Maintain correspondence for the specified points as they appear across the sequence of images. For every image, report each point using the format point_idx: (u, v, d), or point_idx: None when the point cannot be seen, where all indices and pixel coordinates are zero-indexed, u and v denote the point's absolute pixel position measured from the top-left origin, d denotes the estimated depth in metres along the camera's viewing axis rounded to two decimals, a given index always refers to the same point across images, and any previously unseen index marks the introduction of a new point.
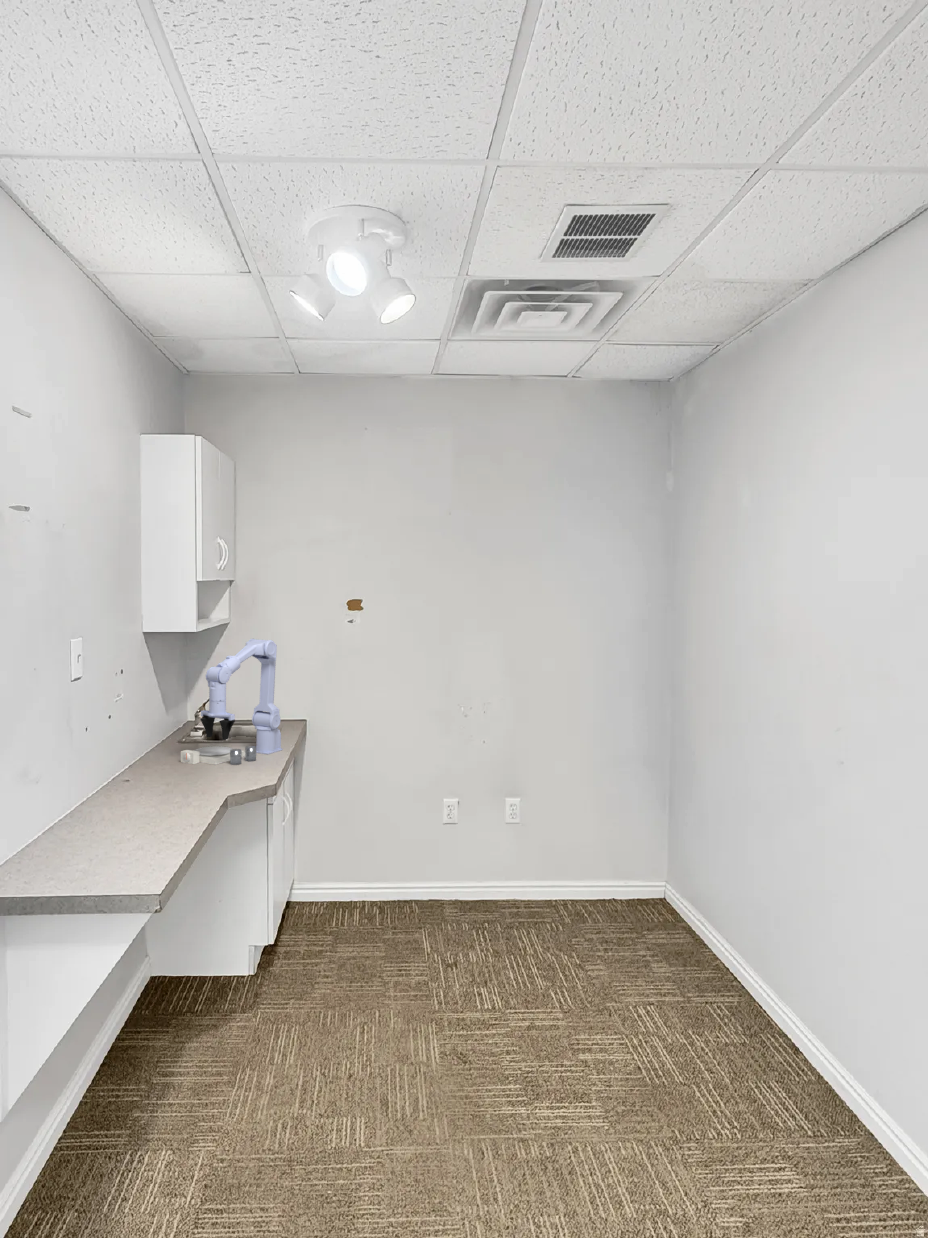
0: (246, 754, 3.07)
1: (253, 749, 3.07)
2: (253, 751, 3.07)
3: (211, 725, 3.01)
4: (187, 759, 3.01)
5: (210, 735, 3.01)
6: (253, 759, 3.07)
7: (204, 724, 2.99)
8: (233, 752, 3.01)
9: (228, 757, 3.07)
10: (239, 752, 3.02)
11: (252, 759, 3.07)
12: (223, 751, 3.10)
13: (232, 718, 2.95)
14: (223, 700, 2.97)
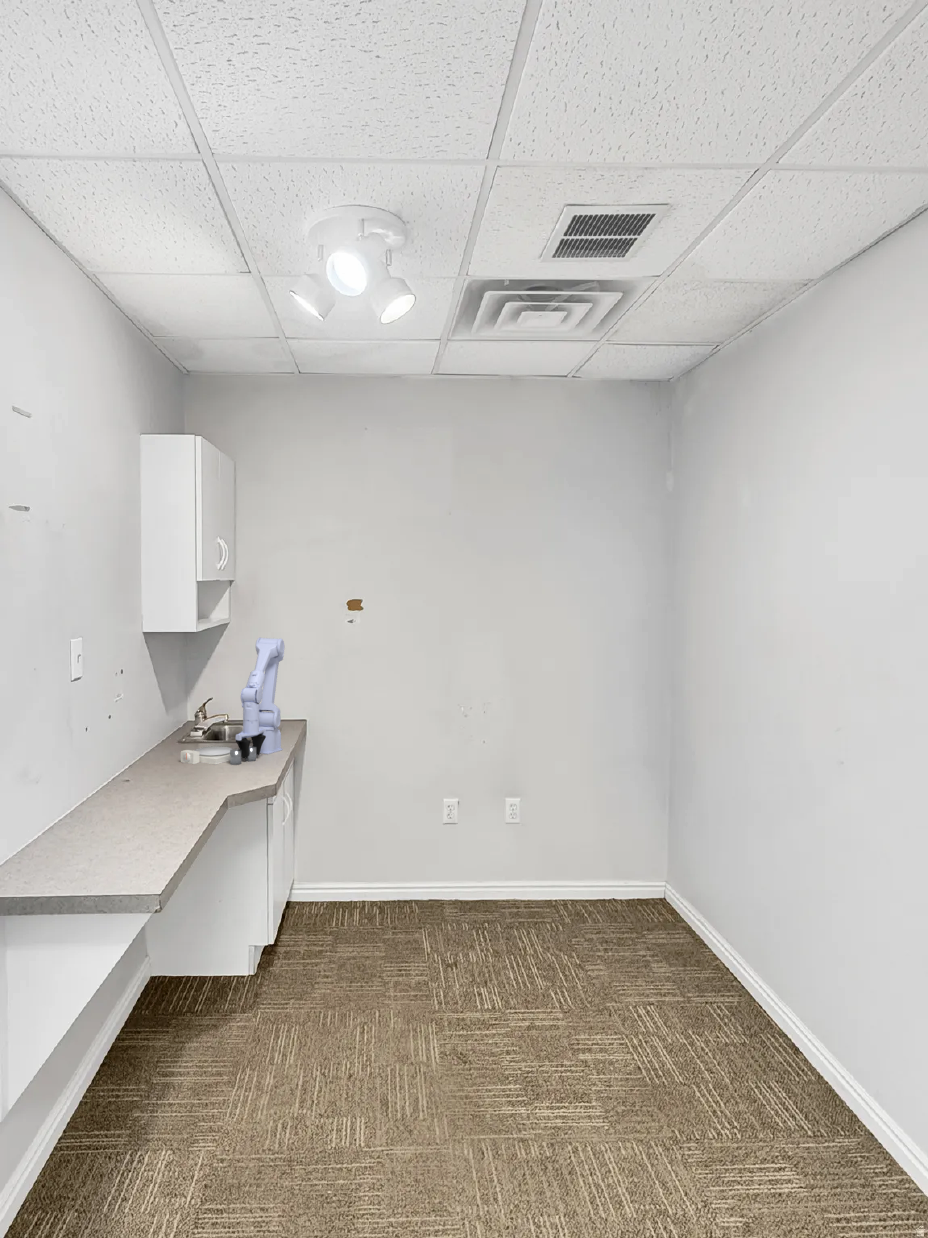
0: None
1: (253, 749, 3.07)
2: (253, 751, 3.07)
3: (258, 744, 3.11)
4: (187, 759, 3.01)
5: (256, 753, 3.11)
6: (253, 759, 3.07)
7: None
8: (233, 752, 3.01)
9: (228, 757, 3.07)
10: (239, 752, 3.02)
11: (252, 759, 3.07)
12: (223, 751, 3.10)
13: (237, 738, 3.02)
14: (258, 719, 3.07)
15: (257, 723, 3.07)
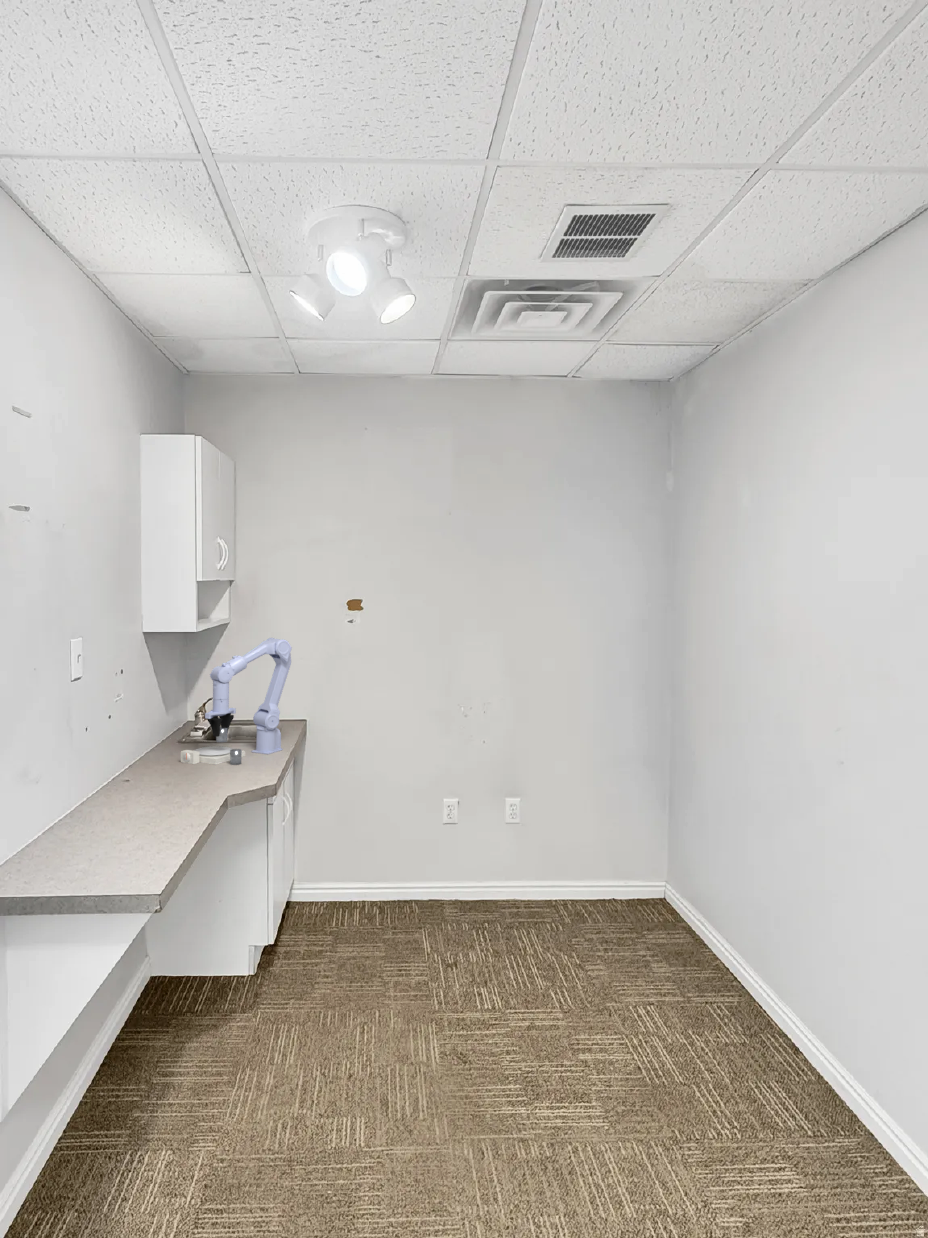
0: None
1: (224, 730, 3.09)
2: (224, 732, 3.09)
3: (226, 723, 3.12)
4: (187, 759, 3.01)
5: None
6: (224, 740, 3.09)
7: None
8: (233, 752, 3.01)
9: (228, 757, 3.07)
10: (239, 752, 3.02)
11: (223, 740, 3.09)
12: (223, 751, 3.10)
13: (206, 716, 3.04)
14: (224, 699, 3.08)
15: (227, 702, 3.09)
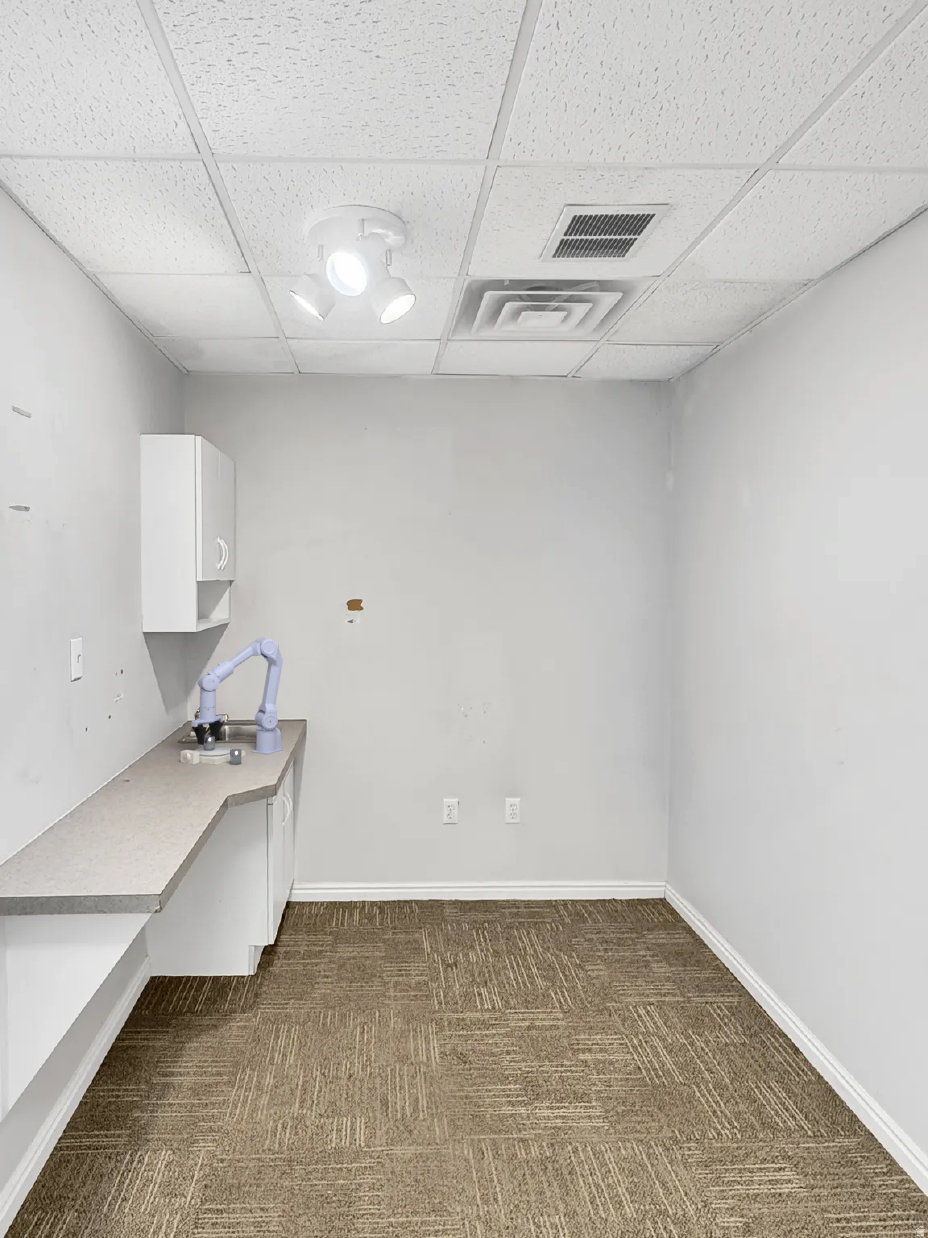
0: (204, 743, 3.10)
1: (212, 738, 3.10)
2: (212, 740, 3.11)
3: (215, 731, 3.15)
4: (187, 759, 3.01)
5: None
6: (212, 748, 3.11)
7: None
8: (233, 752, 3.01)
9: (228, 757, 3.07)
10: (239, 752, 3.02)
11: (211, 748, 3.10)
12: (223, 751, 3.10)
13: (193, 725, 3.05)
14: (209, 707, 3.09)
15: (213, 710, 3.10)
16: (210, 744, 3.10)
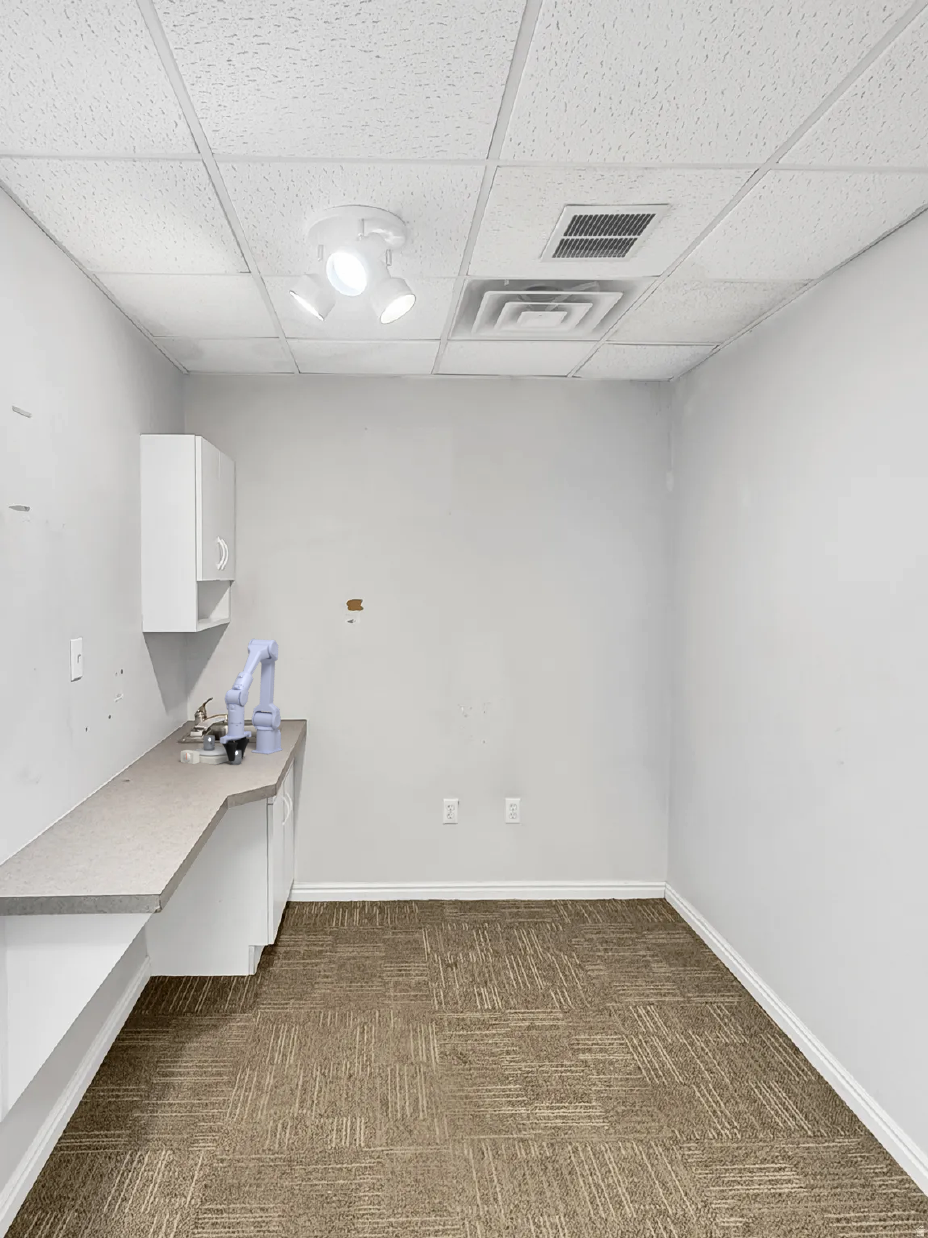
0: (205, 743, 3.10)
1: (212, 738, 3.10)
2: (212, 740, 3.10)
3: (241, 747, 3.04)
4: (187, 759, 3.01)
5: None
6: (212, 748, 3.11)
7: None
8: None
9: None
10: (239, 752, 3.02)
11: (211, 748, 3.10)
12: (223, 751, 3.10)
13: (221, 741, 2.96)
14: (242, 722, 3.01)
15: (242, 726, 3.01)
16: (210, 744, 3.10)
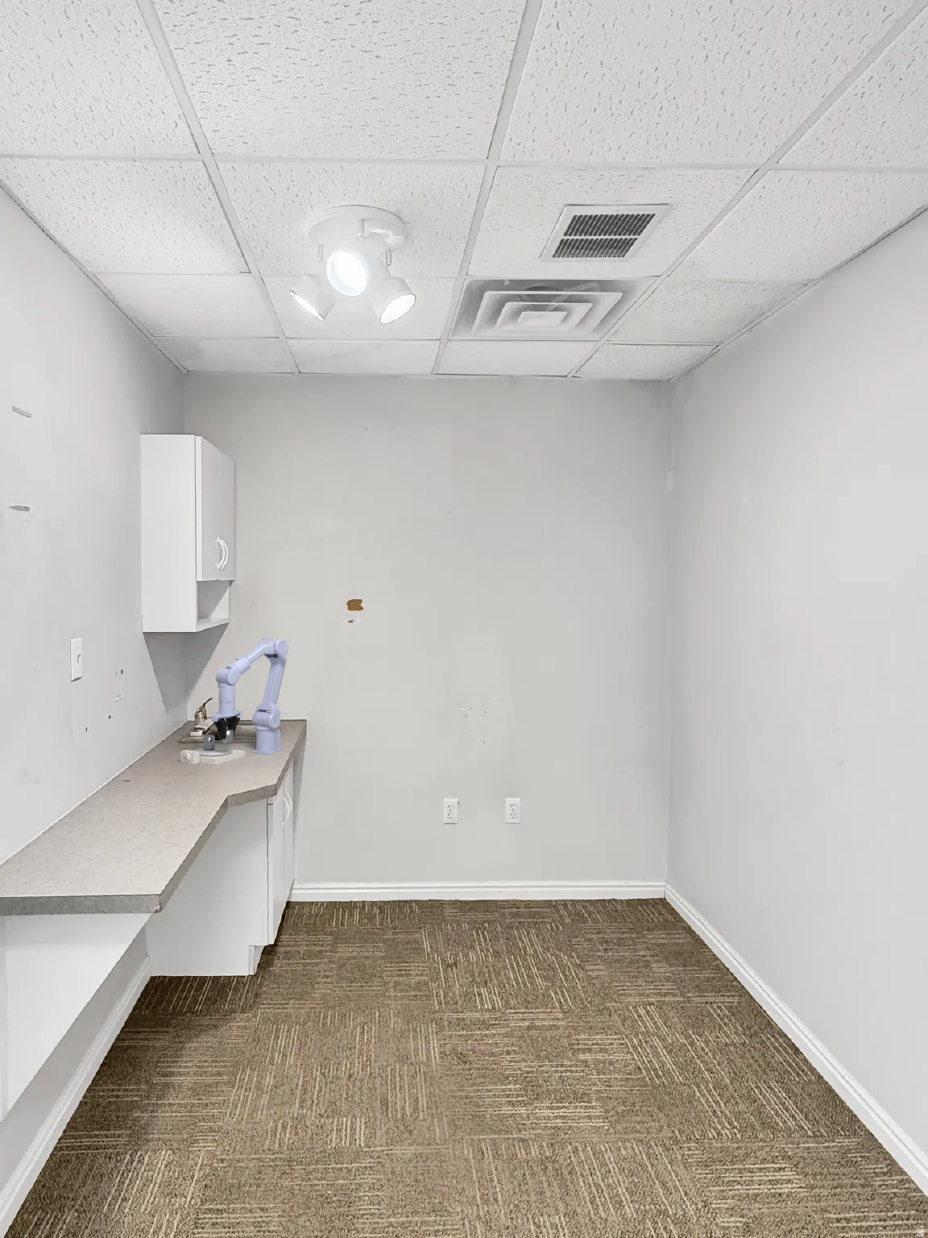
0: (205, 743, 3.10)
1: (212, 738, 3.10)
2: (212, 740, 3.11)
3: (232, 726, 3.08)
4: (187, 759, 3.01)
5: None
6: (212, 748, 3.11)
7: None
8: None
9: (228, 757, 3.07)
10: (231, 732, 3.06)
11: (211, 748, 3.10)
12: (223, 751, 3.10)
13: (213, 719, 3.00)
14: (232, 701, 3.04)
15: (233, 704, 3.05)
16: (210, 744, 3.10)
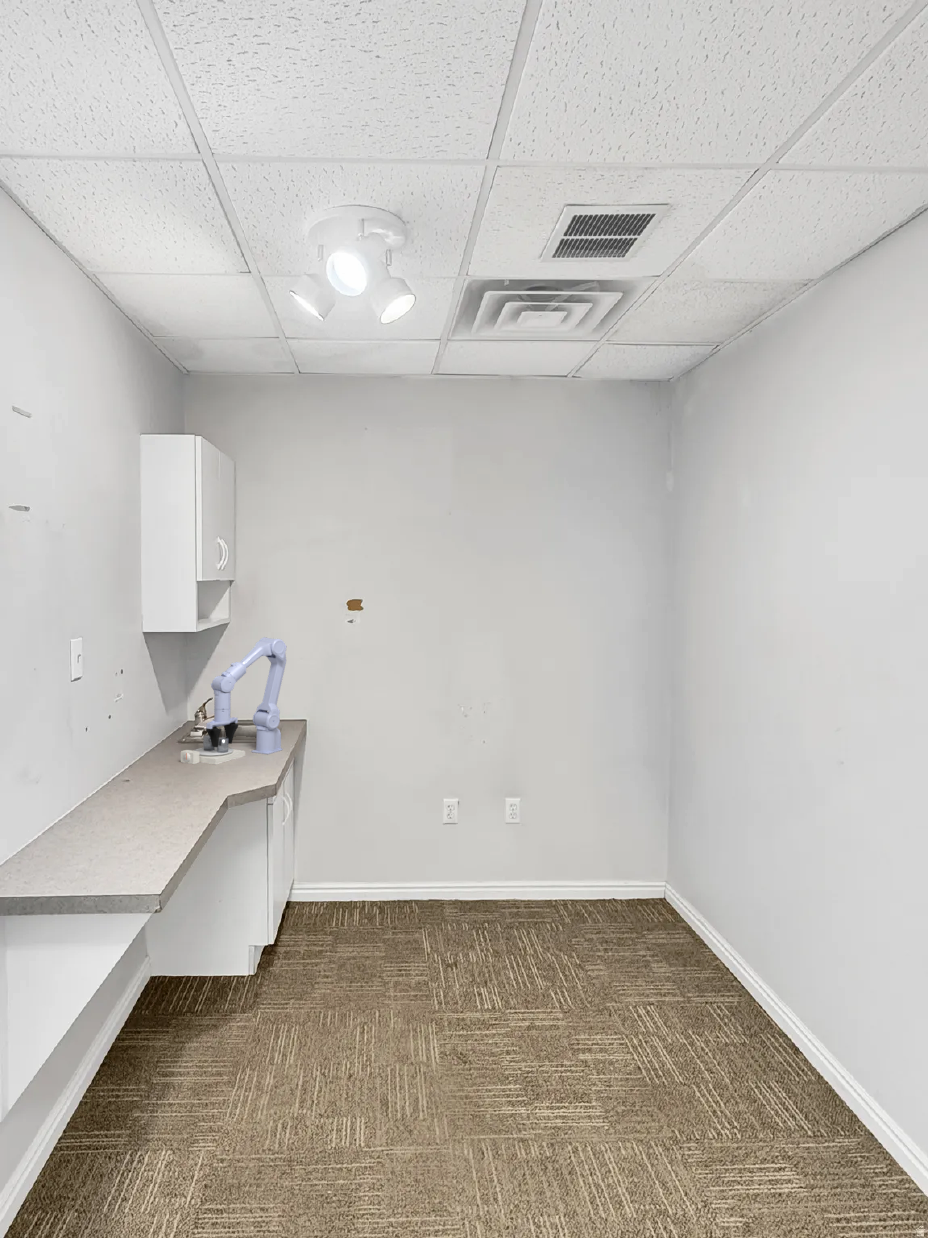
0: (204, 743, 3.10)
1: None
2: None
3: (230, 732, 3.12)
4: (187, 759, 3.01)
5: (228, 742, 3.12)
6: (212, 748, 3.11)
7: None
8: (220, 740, 3.07)
9: (228, 757, 3.07)
10: (226, 740, 3.08)
11: (211, 748, 3.10)
12: None
13: (208, 727, 3.02)
14: (226, 708, 3.06)
15: (228, 712, 3.08)
16: (210, 744, 3.10)
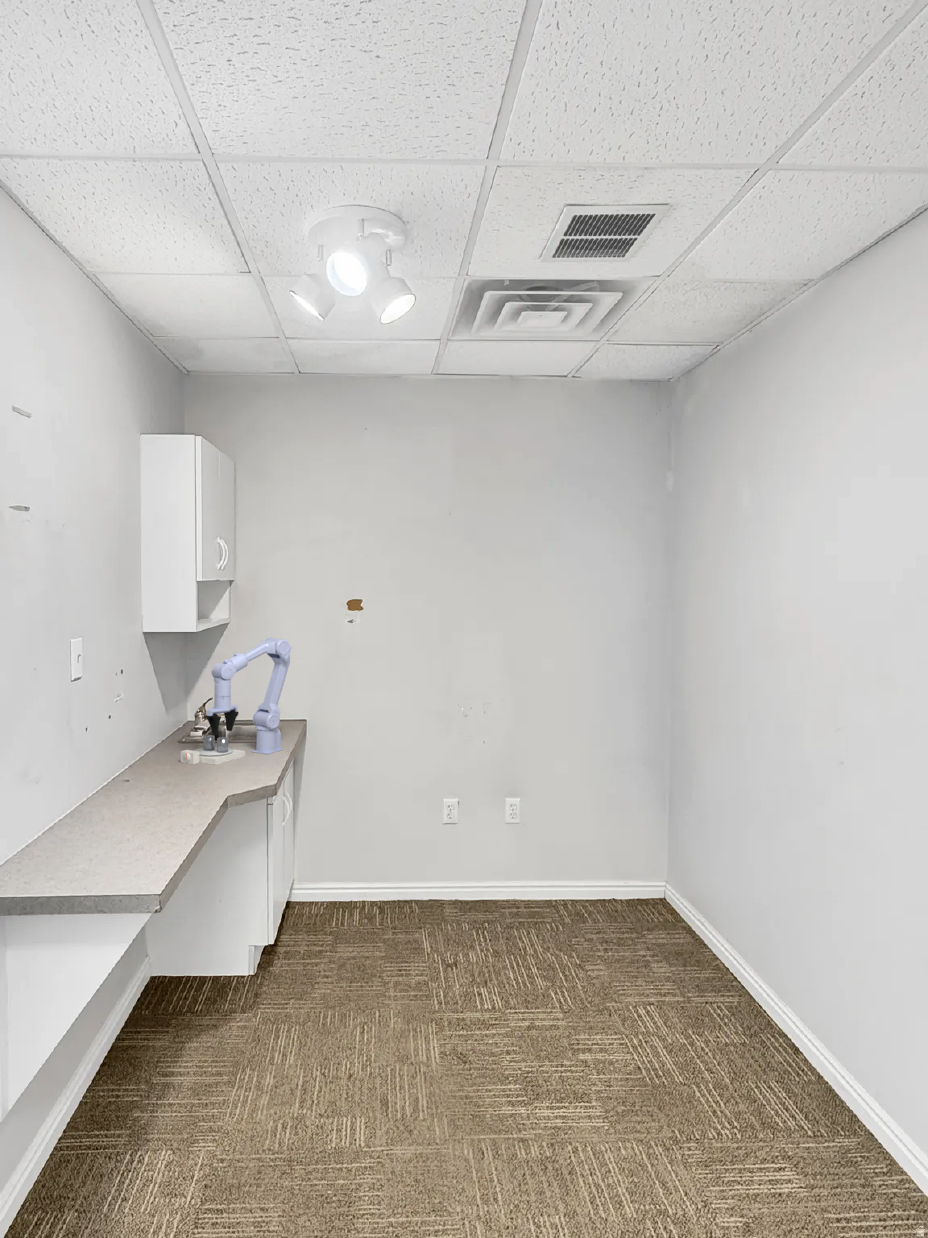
0: (205, 743, 3.10)
1: (212, 738, 3.10)
2: (212, 740, 3.11)
3: (230, 720, 3.12)
4: (187, 759, 3.01)
5: (229, 729, 3.12)
6: (212, 748, 3.11)
7: None
8: (220, 740, 3.07)
9: (228, 757, 3.07)
10: (226, 740, 3.08)
11: (211, 748, 3.10)
12: None
13: (208, 714, 3.02)
14: (226, 696, 3.06)
15: (228, 699, 3.07)
16: (210, 744, 3.10)
